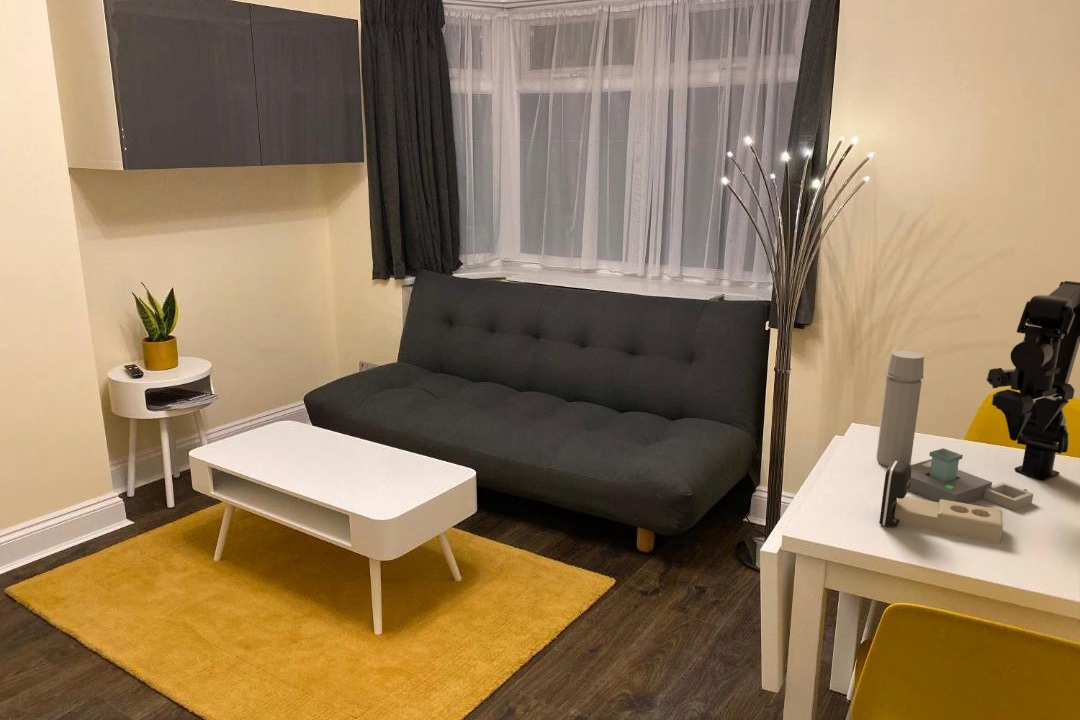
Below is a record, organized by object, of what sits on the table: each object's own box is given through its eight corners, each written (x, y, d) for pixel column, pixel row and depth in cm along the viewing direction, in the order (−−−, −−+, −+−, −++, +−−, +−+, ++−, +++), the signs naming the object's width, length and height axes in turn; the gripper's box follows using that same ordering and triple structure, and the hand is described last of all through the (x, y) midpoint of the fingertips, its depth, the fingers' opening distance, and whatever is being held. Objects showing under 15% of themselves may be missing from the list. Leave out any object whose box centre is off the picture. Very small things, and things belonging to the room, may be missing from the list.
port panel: (928, 472, 187) (930, 457, 186) (989, 495, 175) (992, 480, 174) (892, 483, 181) (894, 468, 180) (953, 509, 169) (955, 493, 169)
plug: (938, 483, 181) (943, 448, 179) (957, 491, 177) (962, 455, 175) (924, 488, 179) (929, 452, 177) (943, 496, 175) (949, 459, 173)
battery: (899, 531, 160) (907, 474, 157) (878, 525, 162) (885, 469, 159) (906, 516, 166) (914, 461, 163) (885, 512, 168) (893, 457, 165)
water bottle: (917, 469, 188) (932, 359, 181) (881, 469, 188) (895, 358, 181) (900, 453, 197) (915, 347, 190) (866, 453, 197) (879, 347, 190)
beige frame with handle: (1009, 488, 179) (1011, 479, 179) (1040, 499, 174) (1042, 490, 173) (982, 497, 174) (984, 488, 174) (1013, 510, 169) (1014, 500, 169)
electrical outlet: (898, 490, 169) (1002, 509, 161) (896, 509, 170) (999, 529, 162) (895, 505, 163) (1003, 525, 155) (893, 524, 164) (999, 545, 156)
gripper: (1026, 345, 180) (1014, 416, 185) (972, 357, 171) (961, 431, 175) (1081, 358, 171) (1067, 432, 175) (1027, 371, 162) (1014, 449, 166)
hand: (1026, 436), depth 173 cm, fingers open, 9 cm apart
